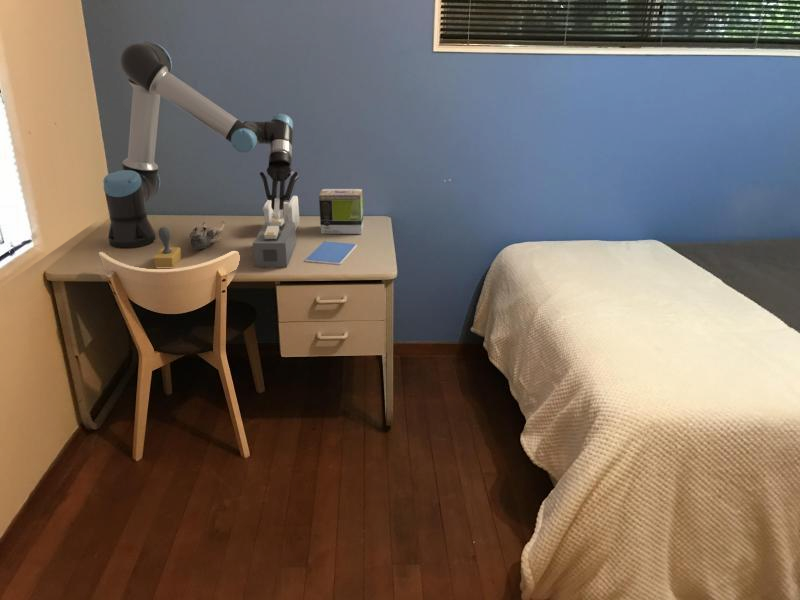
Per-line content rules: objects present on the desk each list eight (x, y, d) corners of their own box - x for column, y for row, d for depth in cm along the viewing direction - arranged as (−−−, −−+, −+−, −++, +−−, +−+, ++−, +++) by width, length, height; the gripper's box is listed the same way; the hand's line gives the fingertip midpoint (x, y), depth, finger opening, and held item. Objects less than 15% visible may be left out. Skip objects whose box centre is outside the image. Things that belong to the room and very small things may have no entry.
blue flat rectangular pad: (340, 266, 195) (340, 263, 194) (303, 263, 198) (303, 259, 197) (358, 247, 212) (358, 243, 212) (323, 244, 215) (323, 240, 214)
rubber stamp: (173, 268, 191) (168, 231, 186) (154, 269, 190) (148, 232, 185) (182, 257, 200) (177, 222, 195) (164, 257, 199) (158, 222, 194)
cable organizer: (293, 236, 220) (291, 205, 215) (264, 236, 220) (261, 205, 215) (300, 224, 234) (298, 194, 229) (272, 224, 234) (269, 194, 229)
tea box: (363, 226, 232) (363, 188, 226) (361, 235, 223) (360, 195, 217) (323, 226, 232) (322, 187, 226) (320, 234, 223) (318, 194, 217)
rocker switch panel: (254, 268, 192) (252, 243, 188) (267, 244, 212) (265, 221, 209) (286, 268, 192) (285, 243, 189) (296, 244, 212) (294, 221, 209)
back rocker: (270, 226, 201) (269, 221, 200) (273, 223, 207) (273, 218, 206) (281, 226, 201) (280, 221, 200) (284, 223, 207) (283, 218, 206)
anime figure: (226, 216, 226) (210, 231, 198) (228, 236, 229) (212, 253, 200) (199, 217, 226) (179, 231, 197) (201, 236, 228) (181, 254, 199)
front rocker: (264, 239, 191) (264, 234, 191) (268, 230, 197) (267, 225, 196) (276, 239, 192) (275, 234, 191) (279, 230, 197) (278, 225, 196)
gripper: (300, 162, 214) (298, 223, 205) (263, 162, 213) (258, 223, 205) (298, 150, 207) (295, 212, 198) (259, 150, 206) (254, 212, 198)
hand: (276, 217), depth 202 cm, fingers closed
